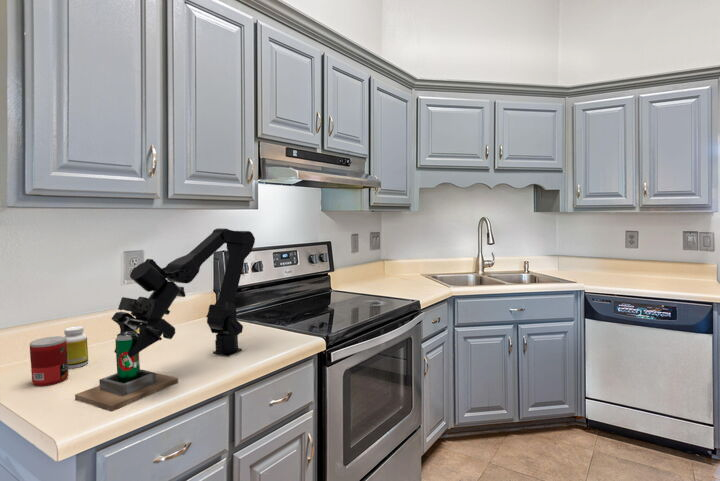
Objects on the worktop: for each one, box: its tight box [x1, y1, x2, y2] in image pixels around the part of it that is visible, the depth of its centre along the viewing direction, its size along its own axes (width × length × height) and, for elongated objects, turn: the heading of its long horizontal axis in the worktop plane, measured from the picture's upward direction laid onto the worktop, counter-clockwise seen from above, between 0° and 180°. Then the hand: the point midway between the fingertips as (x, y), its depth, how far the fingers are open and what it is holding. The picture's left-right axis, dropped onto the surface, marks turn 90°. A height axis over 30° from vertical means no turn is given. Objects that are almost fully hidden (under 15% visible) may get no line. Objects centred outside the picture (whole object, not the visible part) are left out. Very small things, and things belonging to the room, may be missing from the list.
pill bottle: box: [63, 325, 89, 369], centre depth 128 cm, size 6×6×11 cm
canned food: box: [29, 335, 69, 387], centre depth 116 cm, size 8×8×11 cm
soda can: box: [115, 332, 141, 384], centre depth 109 cm, size 5×5×12 cm
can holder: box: [74, 368, 179, 412], centre depth 110 cm, size 18×14×4 cm
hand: (122, 354), depth 108 cm, fingers closed on soda can, 5 cm apart
